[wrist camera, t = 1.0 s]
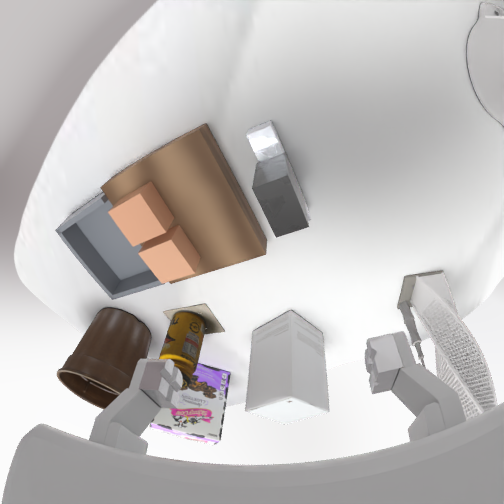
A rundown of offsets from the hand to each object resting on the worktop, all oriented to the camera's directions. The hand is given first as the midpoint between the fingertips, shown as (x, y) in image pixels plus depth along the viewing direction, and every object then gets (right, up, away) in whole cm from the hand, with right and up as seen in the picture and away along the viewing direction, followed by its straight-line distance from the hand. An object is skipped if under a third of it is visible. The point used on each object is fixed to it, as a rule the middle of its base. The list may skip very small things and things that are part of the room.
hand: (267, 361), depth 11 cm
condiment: (-11, -7, +36) cm, 38 cm away
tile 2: (-13, +9, +20) cm, 25 cm away
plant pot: (-26, -11, +40) cm, 49 cm away
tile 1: (-10, +5, +23) cm, 25 cm away
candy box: (-12, -21, +47) cm, 53 cm away
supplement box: (+6, -9, +36) cm, 38 cm away
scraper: (+2, +13, +19) cm, 23 cm away
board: (-8, +10, +23) cm, 26 cm away
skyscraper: (+26, -1, +28) cm, 38 cm away
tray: (-20, +6, +26) cm, 34 cm away
